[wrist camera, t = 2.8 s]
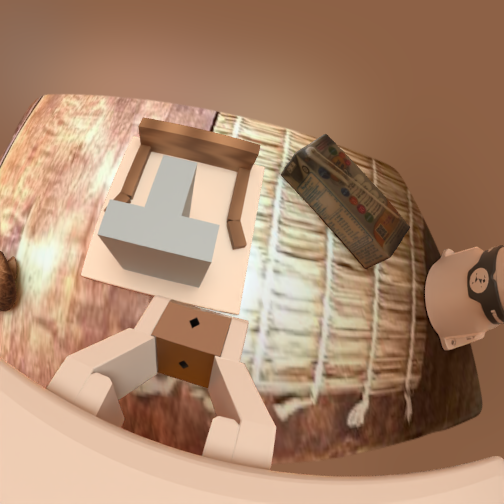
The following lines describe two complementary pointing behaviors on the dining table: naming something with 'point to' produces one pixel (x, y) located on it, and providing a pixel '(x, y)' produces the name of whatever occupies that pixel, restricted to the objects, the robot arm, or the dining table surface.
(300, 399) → the dining table surface
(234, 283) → the board
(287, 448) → the dining table surface
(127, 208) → the tee block
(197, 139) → the dock fence
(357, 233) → the beverage carton
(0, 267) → the mushroom
